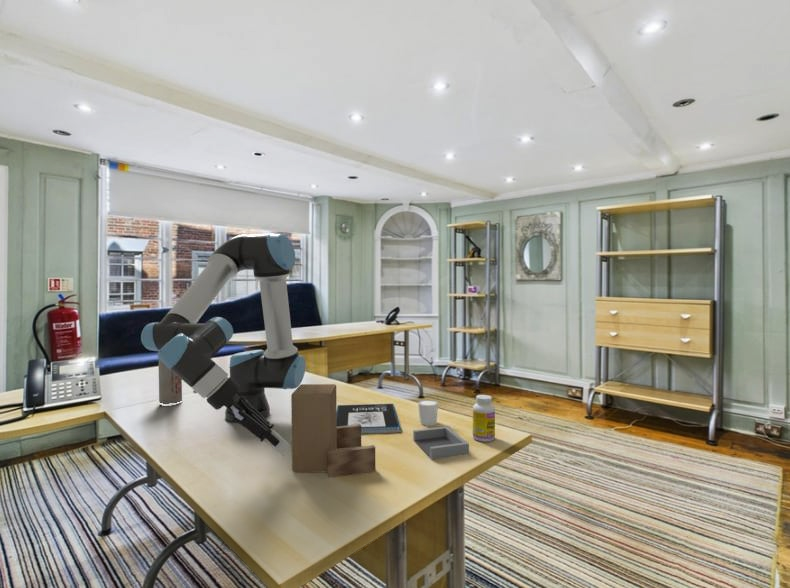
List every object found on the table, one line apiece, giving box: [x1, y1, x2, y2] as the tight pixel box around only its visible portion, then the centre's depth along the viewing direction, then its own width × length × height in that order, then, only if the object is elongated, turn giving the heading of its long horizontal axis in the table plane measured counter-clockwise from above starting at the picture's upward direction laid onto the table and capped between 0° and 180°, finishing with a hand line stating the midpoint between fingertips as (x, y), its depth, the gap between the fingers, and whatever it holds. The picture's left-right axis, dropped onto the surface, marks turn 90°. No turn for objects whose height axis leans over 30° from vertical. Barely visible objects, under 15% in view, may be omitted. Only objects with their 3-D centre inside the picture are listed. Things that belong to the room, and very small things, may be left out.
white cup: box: [417, 399, 439, 427], centre depth 139 cm, size 7×7×7 cm
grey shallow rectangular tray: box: [412, 426, 470, 460], centre depth 118 cm, size 11×14×3 cm
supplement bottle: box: [472, 394, 496, 443], centre depth 125 cm, size 7×7×13 cm
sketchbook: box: [336, 403, 402, 435], centre depth 143 cm, size 22×30×2 cm
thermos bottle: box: [157, 351, 183, 404], centre depth 162 cm, size 8×8×28 cm
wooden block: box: [290, 383, 338, 473], centre depth 107 cm, size 10×10×20 cm
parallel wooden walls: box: [326, 424, 376, 478], centre depth 110 cm, size 12×18×6 cm, turn 17°
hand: (286, 450), depth 103 cm, fingers closed
